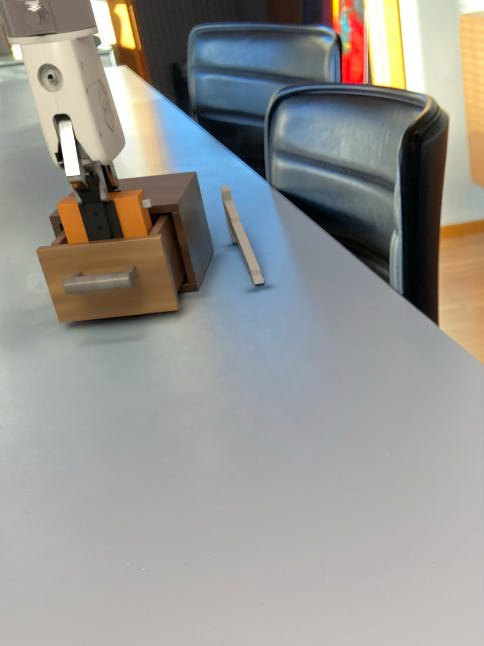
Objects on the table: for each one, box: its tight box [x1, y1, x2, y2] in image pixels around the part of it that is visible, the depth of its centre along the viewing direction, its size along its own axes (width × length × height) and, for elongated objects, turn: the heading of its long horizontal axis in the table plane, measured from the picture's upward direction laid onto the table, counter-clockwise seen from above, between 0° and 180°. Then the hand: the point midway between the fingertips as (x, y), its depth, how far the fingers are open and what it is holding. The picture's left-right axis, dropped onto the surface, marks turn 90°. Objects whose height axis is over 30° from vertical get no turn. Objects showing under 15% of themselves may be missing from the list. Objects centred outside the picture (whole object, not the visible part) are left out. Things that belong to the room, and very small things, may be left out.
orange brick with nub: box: [56, 189, 153, 244], centre depth 97 cm, size 8×3×4 cm, turn 96°
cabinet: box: [48, 170, 215, 294], centre depth 108 cm, size 15×13×9 cm
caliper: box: [219, 184, 265, 285], centre depth 111 cm, size 20×1×6 cm, turn 19°
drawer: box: [35, 212, 186, 323], centre depth 99 cm, size 18×11×7 cm, turn 6°
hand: (111, 239), depth 98 cm, fingers closed on orange brick with nub, 3 cm apart
